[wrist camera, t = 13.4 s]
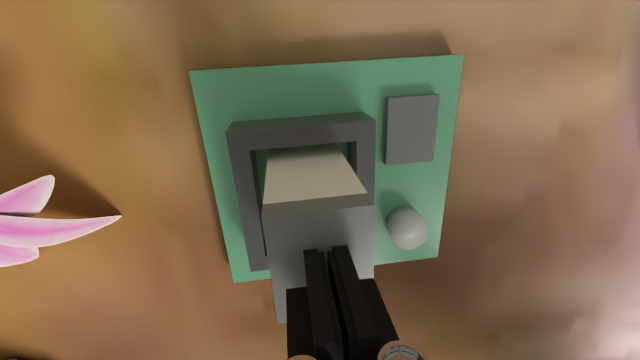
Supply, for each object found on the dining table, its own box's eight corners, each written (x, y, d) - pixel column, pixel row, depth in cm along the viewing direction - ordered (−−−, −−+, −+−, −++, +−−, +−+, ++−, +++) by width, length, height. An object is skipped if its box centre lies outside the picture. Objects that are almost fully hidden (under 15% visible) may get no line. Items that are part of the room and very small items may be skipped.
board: (452, 54, 18) (491, 55, 15) (430, 247, 24) (454, 279, 20) (194, 70, 17) (173, 74, 13) (235, 271, 22) (228, 310, 19)
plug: (335, 142, 18) (375, 205, 11) (338, 215, 20) (373, 309, 13) (268, 149, 18) (261, 217, 10) (277, 222, 20) (277, 324, 12)
